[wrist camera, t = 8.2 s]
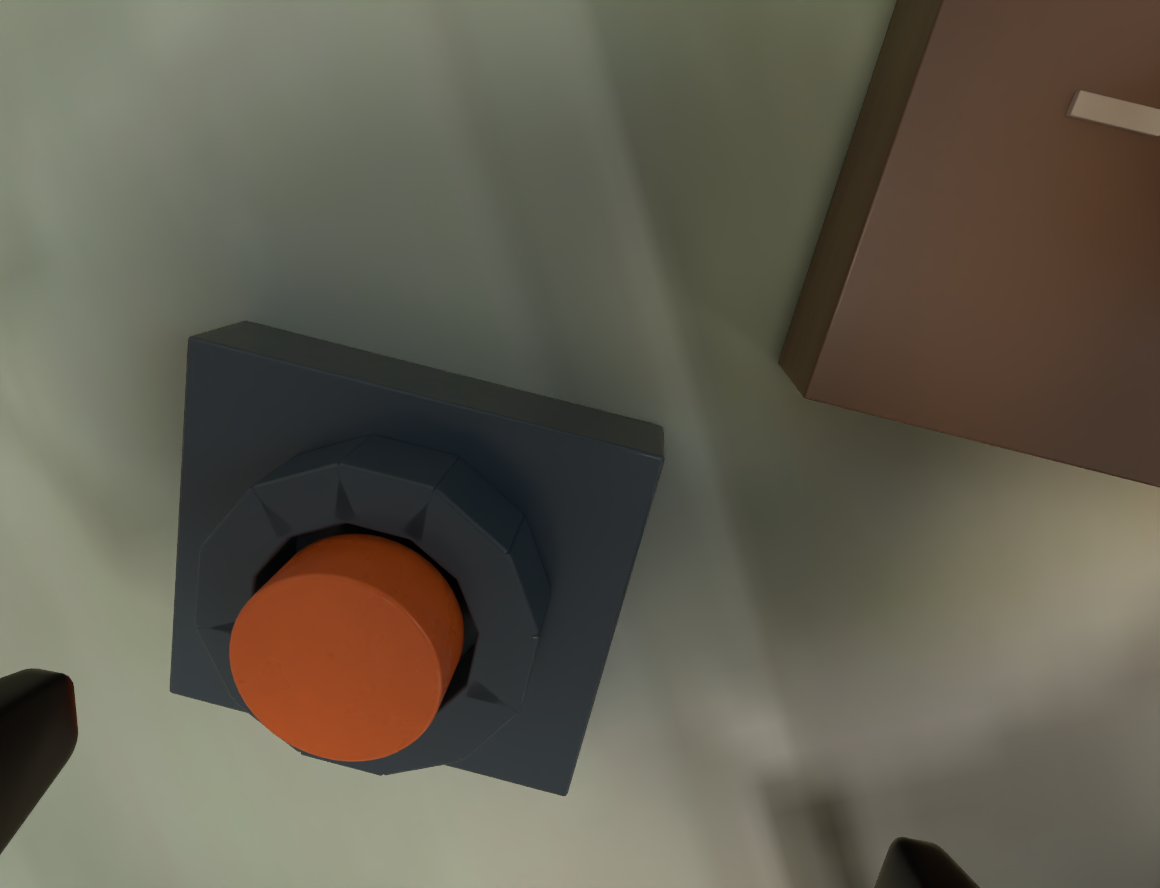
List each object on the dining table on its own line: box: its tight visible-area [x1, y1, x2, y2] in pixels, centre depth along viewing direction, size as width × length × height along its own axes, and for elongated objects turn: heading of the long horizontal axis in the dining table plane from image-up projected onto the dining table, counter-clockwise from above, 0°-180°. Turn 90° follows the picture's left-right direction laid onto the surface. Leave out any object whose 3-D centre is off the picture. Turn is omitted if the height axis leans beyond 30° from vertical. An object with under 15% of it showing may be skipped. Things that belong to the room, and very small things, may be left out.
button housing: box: [170, 321, 664, 796], centre depth 16 cm, size 10×9×4 cm
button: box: [229, 533, 464, 762], centre depth 14 cm, size 4×4×2 cm
